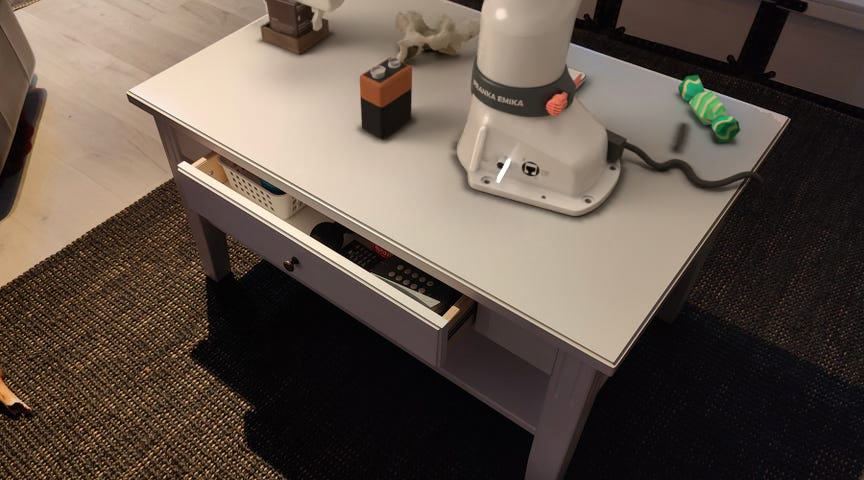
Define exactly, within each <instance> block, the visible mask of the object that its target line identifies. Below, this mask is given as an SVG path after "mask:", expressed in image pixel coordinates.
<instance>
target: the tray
mask: <svg viewBox="0 0 864 480" xmlns="http://www.w3.org/2000/svg"><path fill="white" fill-rule="evenodd" d="M329 27H330V25H329V19H326V18H325V17H322V28H321V29H319V30H318V31H315V30H313V29H311V30H309V31H308V32H306V33H305V34H303V35H302V36H300V37H299V38H294V37H292V36H289V35H286V34H284V33H281V32H278V31H276V30H273V29H270V22H269V21H267V22H265V23H264V24H262V25H261V26H260V33H261V40H262V42H266V43H267V44H270V45H273V46H276V47H278V48H281V49H284V50H286V51H289V52H291V53H294V54H296V55H301V54H302V53H304V52H305V51H307V50H308V49H309V48H311V47H312V46H314V45H315V44H317V43H319V42H320V41H321V40H322V39H324V38H325V37H327V36H328V35H329V34H330V28H329Z"/></svg>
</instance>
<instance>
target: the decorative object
mask: <svg viewBox="0 0 864 480" xmlns="http://www.w3.org/2000/svg"><path fill="white" fill-rule="evenodd" d="M423 17H424V16H423V14H422V13H420V12H418V11H415V10H408V11H406V13H403V12H401V11H397V14H396V18H395V28H396V30H398V31H400V32H402V33H404V34H405V37H404V38H403V39H400V40H399V41H397V42H396V44H398V47H399V49H400V52H398V54H397V55H396V58H398V59H400V61H401V62H403V63H404V62H405V61H407V60H410V59H413V58H414V57H415V56H416V55H419V54H420V53H422V52H423V51H428V50H433V51H438V52H439V53H441V54H442V53H443V54H447V55H450V56H456V55H458V54H459V53H460V50H461V47H462V44H463V43H467V42H469V41H470V40H473V39H474V38H476V36H477V35H479V32H480V22H479V21H478V20H474V19H470V18H466V19H465V20H464V21H462V22H460V23H459V24H456V22H455V21H454V19H453V18H452V17H451V16H450V15H448V14H447V13H443V14H441V15H440V16H439V17H438V19H437V21H436V25H437V26H436V27H435V26H433V27H431V26H428V25H427V24H426V22H425V20H424V18H423Z"/></svg>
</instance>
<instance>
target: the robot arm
mask: <svg viewBox="0 0 864 480" xmlns="http://www.w3.org/2000/svg"><path fill="white" fill-rule="evenodd" d="M261 1H262V3H263V4H264V6H265V7H264V8H265V12H266V14H268V7H267V0H261ZM294 1H296V2H299V3H302V4H305V5H308V6H311V7H312V12H315V14H314V16H313V17H312V18H310V19H308V23H309V28H310V29H313V30H315V31H318V30H319V29H321V28H322V18H324V15H325V13H328V14H329V13H333V12H335V11H336V10H337V9H339V8H340V7H341V6H342V5H343V4H344V2H345V0H294ZM582 2H583V0H483V3H482V7H481V12H480V22H479V24H480V32H479V33H478V43H477V44H478V45H477V53H476V55H475V57H474V58H473V64H472V71H471V79H470V80H471V81H470V94H471V100H470V106H469V110H468V115H467V119H466V121H465V126H464V128H463V131H462V134H461V136H460V139H459V140H458V142H457V146H456V156H457V158H458V161H459V163H460V164H461V166H462V168H463V169H465V172H466V173H467V182H468V186H469V187H470V188H472V189H473V190H475V191H479V192H483V193H486V194H490V195H493V196H498V197H501V198H504V199H508V200H512V201H516V202H520V203H522V204H523V203H524V204H526V205H530V206H534V207H538V208H541V209H544V210H549V211H552V212H556V213H560V214H564V215H568V216H572V217H580V216H583V215H585V214H589V213H590V212H592V211H594V210H596V209H597V208H598V207H600V206H601V205H602V204H603V203H604V202H605V201H606V200H607V199H608V197H610V195H611V194H612V192H613V190H614V189H615V188H616V187H617V184H618V182H619V179H620V174H621V161H620V159H621V158H622V157H623V154H624V151H625V150H628V151H630V152H632V153H634V154H635V155H636V156H638V157H639V158H640V159H641V160H642V161H643V162H644V163H645V164H646V165H647V166H649V167H651V168H652V169H655V170H657V171H658V170H659V171H664V170H667V169H669V168H672V167H679V168H681V169H682V170H683V171H684V172H685V173H686V175H687V177H688V179H689V180H690V181H691V182H692V183H693V184H694V185H696V186H699V187H701V188H706V189H717V188H723V187H726V186H729V185H732V184H734V183H737V182H739V181H741V180H745V179H751V180H753V181H755V182H756V183H758V184H759V183H760V184H762V183H764V179H763V178H762V175H760V174H759V173H758V172H756V171H750V170H748V171H747V170H746V171H741V172H738V173H735V174H733V175H731V176H728V177H725V178H722V179H717V180H707V179H705V180H704V179H702V178H700V177H699V176H698V175H697V174H696V172H695V171H694V169H693V168H692V166H691V165H690V164H689V163H688V162H687V161H684V160H683V159H678V158H672V159H669V160H667V161H664V162H658V161H656V160H654V159H653V158H651V156H649V154H647V153H646V152H645V151H644V150H643V149H641V148H640V147H639V146H637V145H635V144H632V143H631V142H628V141H627V140H628V138H626V137H624V136H622V135H620V134H619V133H616V132H614V131H612V130H610V129H607V128H606V127H605V126H604V125H603V124H602V123H601V122H600V120H599V119H597V118H596V117H595V115H594V114H593V113H592V112H591V111H589V109H588V108H587V107H586V106H585V105H584V104H583V102H581V100H579V98H578V97H577V96H575V95H576V90H577V89H576V87H577V86H578V85H579V84H580V81H581V77H582V74H579V76H578V77H577V78H576V79H575V80H574V81H573V79H572V78H571V76H570V74H569V71H568V68H569V67H568V64H567V60H568V59H567V58H568V55H569V49H570V45H571V41H572V36H573V32H574V27H575V23H576V19H577V16H578V12H579V10H580V7H581V4H582Z"/></svg>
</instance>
